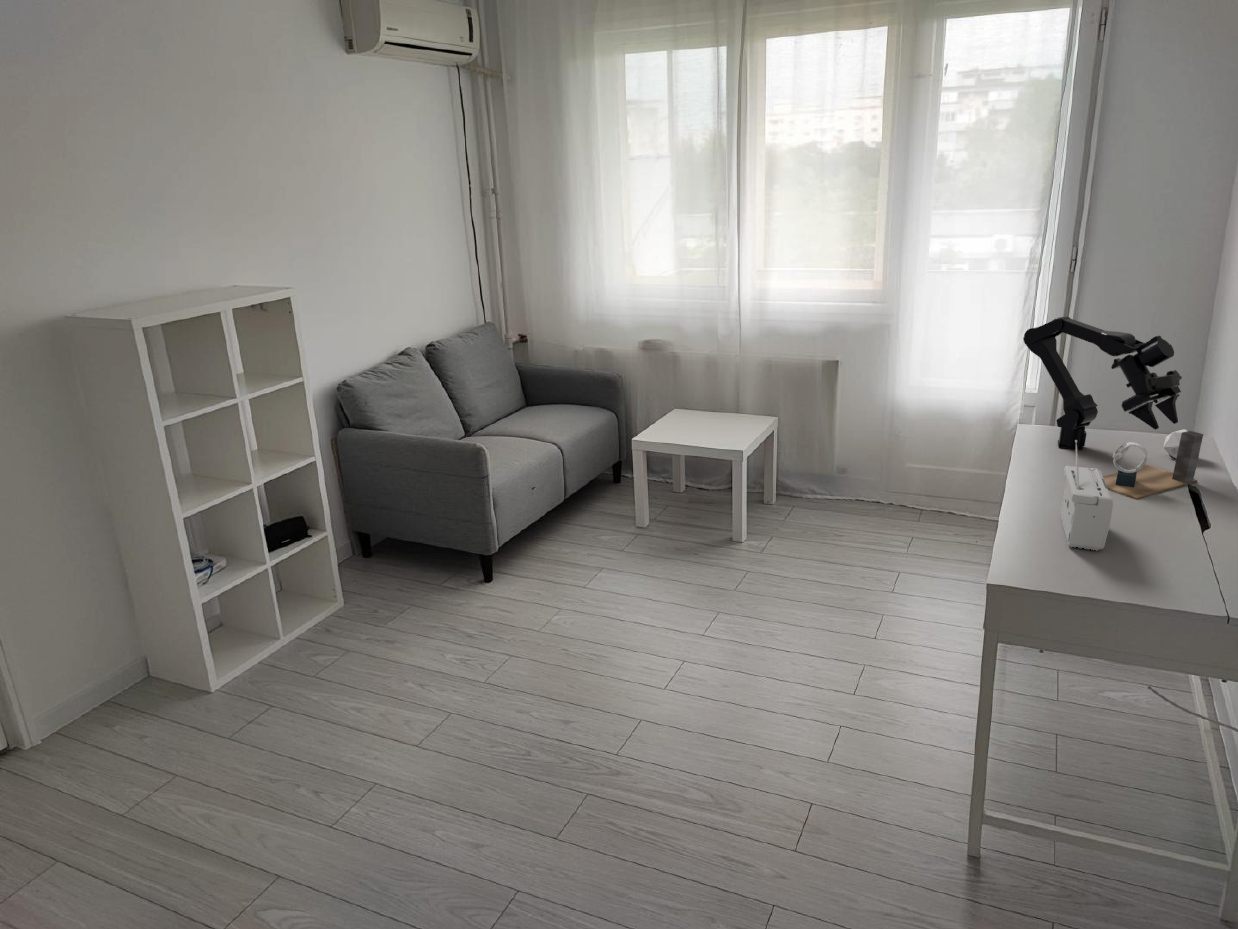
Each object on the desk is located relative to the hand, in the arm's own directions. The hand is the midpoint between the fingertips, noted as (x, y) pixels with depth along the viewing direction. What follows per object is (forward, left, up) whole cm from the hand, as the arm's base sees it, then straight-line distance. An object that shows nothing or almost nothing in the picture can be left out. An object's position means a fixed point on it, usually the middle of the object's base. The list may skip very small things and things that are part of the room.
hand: (1166, 425), depth 240 cm
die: (+7, +15, -13) cm, 21 cm away
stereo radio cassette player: (-22, -53, -13) cm, 59 cm away
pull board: (-5, -11, -13) cm, 18 cm away
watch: (-9, -14, -13) cm, 21 cm away
